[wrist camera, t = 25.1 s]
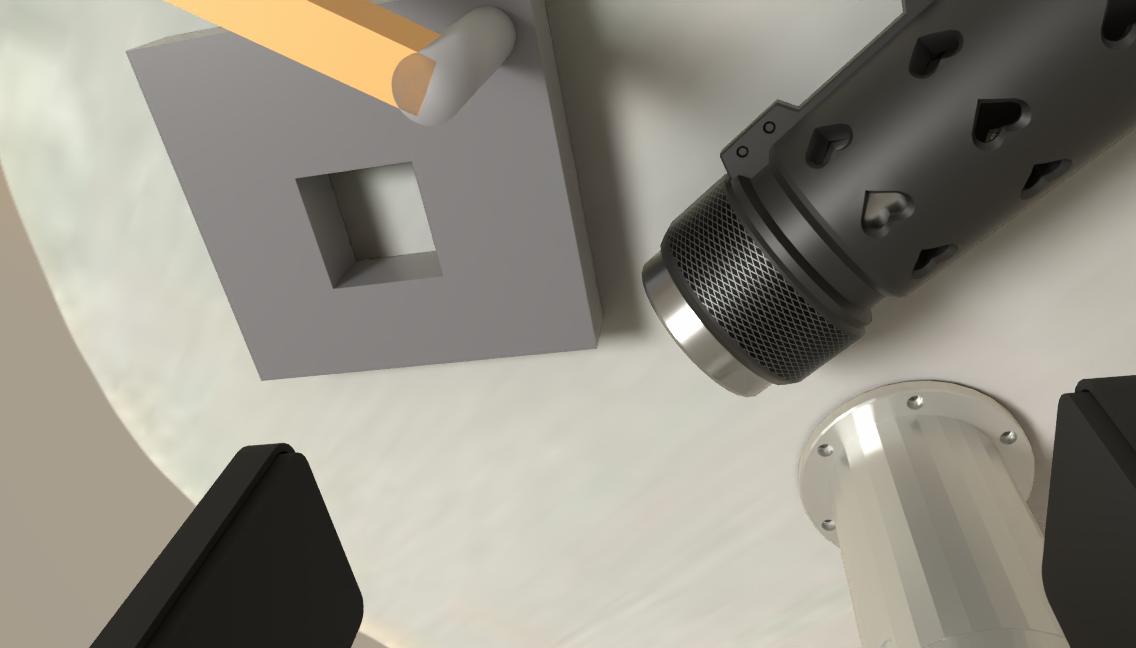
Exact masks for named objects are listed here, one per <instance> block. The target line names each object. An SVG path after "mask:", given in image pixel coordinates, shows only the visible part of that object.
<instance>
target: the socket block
mask: <svg viewBox="0 0 1136 648" xmlns="http://www.w3.org/2000/svg"><path fill="white" fill-rule="evenodd" d="M368 1H370V2H372V3H374V4H376V5H379V6H381V7H383V8H385V9H387V10H389V11H391V12H393V13H396V14H398V15H400V16H402V17H404V18H406V19H408V20H410V21H413V22H415V23H417V24H419V25H421V26H423V27H425V28H427V29H430V30H432V31H434V32H436V33H438V34H439V33H440V32H442V31H443V30H445V29H446V28H448V27H449V26H450V25H452V24H453V23H455V22H456V21H457V20H459V19H460V18H462V17H463V16H465V15H466V14H467V13H469V12H470V11H472V10H473V9H475V8H477V7H480V6H493V7H496V8H499V9H500V10H502V11H503V12H505V13H506V14H507V15H508V16H509V18H510V19H511V21H512V22H513V24H514V27H515V31H516V42H515V46H514V49H513V51H512V52H511V54H510V55H509V56H508V57H507V58H506V60H505V61H504V62H503V63H502V64H501V65H500V66H499V67H498V68H497V70H496V71H495V72H494V73H493V74H492V75H491V76H490V77H489V78H488V79H487V81H486V82H485V83H484V84H483V85H482V86H481V87H480V88H479V89H478V91H477V92H476V93H475V94H474V95H473V96H472V97H471V98H470V99H469V100H468V102H467V103H466V104H465V105H464V106H463V107H462V108H461V109H460V110H459V111H458V113H457V114H456V115H455V116H454V117H453V118H452V119H451V120H449V121H448V122H446V123H444V124H441V125H436V126H426V125H422V124H419V123H416V122H414V121H412V120H411V119H409V118H408V117H407V116H405V115H404V114H403V113H402V111H401V110H400V109H399V108H397V107H395V106H392V105H390V104H388V103H386V102H384V101H382V100H379V99H377V98H375V97H373V96H371V95H369V94H366V93H364V92H362V91H360V90H358V89H356V88H353V87H351V86H349V85H347V84H345V83H342V82H340V81H338V80H336V79H334V78H332V77H329V76H327V75H325V74H323V73H321V72H319V71H316V70H314V69H312V68H310V67H308V66H306V65H303V64H301V63H299V62H297V61H295V60H292V59H290V58H288V57H286V56H284V55H282V54H279V53H277V52H275V51H273V50H271V49H269V48H266V47H264V46H262V45H260V44H258V43H256V42H253V41H251V40H249V39H247V38H245V37H242V36H240V35H238V34H236V33H234V32H232V31H229V30H227V29H225V28H223V27H217V28H212V29H207V30H201V31H196V32H191V33H185V34H180V35H175V36H170V37H165V38H162V39H159V40H157V41H154V42H151V43H148V44H145V45H142V46H139V47H136V48H133V49H130V50H128V51H126V54H127V56H128V59H129V61H130V63H131V66H132V68H133V71H134V73H135V75H136V78H137V80H138V83H139V85H140V88H141V90H142V92H143V95H144V97H145V100H146V102H147V105H148V107H149V109H150V112H151V114H152V117H153V119H154V122H155V124H156V126H157V129H158V131H159V134H160V136H161V138H162V141H163V143H164V146H165V148H166V151H167V153H168V155H169V158H170V160H171V163H172V165H173V168H174V170H175V172H176V175H177V177H178V180H179V182H180V185H181V187H182V189H183V192H184V194H185V197H186V199H187V201H188V204H189V206H190V209H191V211H192V214H193V216H194V218H195V221H196V223H197V226H198V228H199V231H200V233H201V235H202V238H203V240H204V243H205V245H206V247H207V250H208V252H209V255H210V257H211V260H212V262H213V264H214V267H215V269H216V272H217V274H218V277H219V279H220V281H221V284H222V286H223V289H224V291H225V294H226V296H227V298H228V301H229V303H230V306H231V308H232V310H233V313H234V315H235V318H236V320H237V323H238V325H239V327H240V330H241V332H242V335H243V337H244V340H245V342H246V344H247V347H248V349H249V352H250V354H251V357H252V359H253V361H254V364H255V366H256V369H257V371H258V373H259V376H260V378H261V381H264V380H275V379H285V378H296V377H306V376H316V375H327V374H337V373H348V372H358V371H368V370H379V369H389V368H400V367H410V366H420V365H431V364H441V363H452V362H462V361H472V360H483V359H493V358H504V357H514V356H524V355H535V354H545V353H556V352H566V351H576V350H587V349H597V345H598V340H599V335H600V329H601V324H602V319H603V314H602V308H601V303H600V297H599V292H598V287H597V281H596V276H595V270H594V265H593V260H592V254H591V249H590V243H589V238H588V233H587V227H586V222H585V216H584V211H583V206H582V200H581V195H580V189H579V184H578V179H577V173H576V168H575V162H574V157H573V152H572V146H571V141H570V135H569V130H568V125H567V119H566V114H565V108H564V103H563V98H562V92H561V87H560V81H559V76H558V71H557V65H556V60H555V54H554V49H553V44H552V38H551V33H550V27H549V22H548V17H547V11H546V6H545V0H368ZM411 161H412V165H413V168H414V172H415V176H416V179H417V183H418V187H419V190H420V194H421V197H422V201H423V205H424V208H425V212H426V215H427V219H428V223H429V226H430V230H431V233H432V237H433V241H434V244H435V248H436V251H432V252H424V253H416V254H408V255H400V256H392V257H384V258H376V259H368V260H360V261H356V258H355V255H354V252H353V249H352V246H351V243H350V240H349V237H348V234H347V231H346V227H345V224H344V221H343V218H342V215H341V212H340V209H339V206H338V203H337V200H336V197H335V194H334V191H333V188H332V185H331V182H330V178H329V175H328V174H329V173H336V172H343V171H350V170H357V169H363V168H370V167H377V166H384V165H391V164H398V163H404V162H411Z"/></svg>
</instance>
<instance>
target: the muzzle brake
mask: <svg viewBox="0 0 1136 648" xmlns="http://www.w3.org/2000/svg"><path fill="white" fill-rule="evenodd" d="M902 7H903V13H902V14H901V15H900V16H899V17H897V18H896V19H895V20H894V21H893V22H892V23H891V24H890V25H889V26H887V27H886V28H885V29H884V30H883V31H882V32H881V33H880V34H879V35H877V36H876V37H875V38H874V39H873V40H872V41H871V42H870V43H869V44H868V45H866V46H865V47H864V48H863V49H862V50H861V51H860V52H859V53H858V54H856V55H855V56H854V57H853V58H852V59H851V60H850V61H849V62H848V63H846V64H845V65H844V66H843V67H842V68H841V69H840V70H839V71H838V72H836V73H835V74H834V75H833V76H832V77H831V78H830V79H829V80H828V81H826V82H825V83H824V84H823V85H822V86H821V87H820V88H819V89H818V90H816V91H815V92H814V93H813V94H812V95H811V96H810V97H809V98H808V99H806V100H805V101H804V102H803V103H802V104H801V105H800V106H799V107H798V106H795V105H792V104H790V103H787V102H784V101H781V100H778V99H777V100H776V101H775V102H774V103H773V104H772V105H771V106H770V107H768V108H767V109H766V110H765V111H764V112H763V113H762V114H761V115H760V116H759V117H758V118H756V119H755V120H754V121H753V122H752V123H751V124H750V125H749V126H748V127H747V128H746V129H744V130H743V131H742V132H741V133H740V134H739V135H738V136H737V137H736V138H735V139H734V140H732V141H731V142H730V143H729V144H728V145H727V146H726V147H725V148H724V149H723V150H722V151H721V153H720V158H721V160H722V162H723V164H724V166H725V168H726V170H727V174H725V175H724V176H723V177H722V178H721V179H719V180H718V181H717V182H716V183H715V184H714V185H713V186H712V187H711V188H709V189H708V190H707V191H706V192H705V193H704V194H703V195H702V196H700V197H699V198H698V199H697V200H696V201H695V202H694V203H693V204H692V205H690V206H689V207H688V208H687V209H686V210H685V211H684V212H683V213H682V214H680V215H679V216H678V217H677V218H676V219H675V220H674V221H673V222H672V223H671V225H670V226H669V228H668V230H667V232H666V234H665V236H664V238H663V240H662V243H661V245H660V246H661V250H660V251H659V252H658V253H657V254H656V255H654V256H653V257H652V258H651V259H650V260H649V261H648V262H647V263H645V264H644V267H643V270H642V281H643V285H644V288H645V292H646V294H647V296H648V299H649V301H650V303H651V305H652V307H653V309H654V311H655V312H656V314H657V316H658V318H659V319H660V321H661V322H662V324H663V325H664V327H665V328H666V330H667V331H668V333H669V334H670V335H671V337H672V338H673V339H674V341H675V342H676V343H677V344H678V346H679V347H680V348H681V349H682V350H683V351H684V353H685V354H686V355H687V356H688V357H689V358H690V359H691V360H692V361H693V362H694V363H695V364H696V365H697V366H698V367H699V368H700V369H701V370H702V371H703V372H704V373H705V374H707V375H708V376H709V377H710V378H711V379H713V380H714V381H715V382H716V383H718V384H719V385H721V386H722V387H724V388H725V389H727V390H728V391H730V392H732V393H734V394H736V395H739V396H743V397H753V396H756V395H758V394H759V393H760V392H762V391H763V390H764V389H766V388H767V387H768V386H770V385H771V384H776V385H786V384H792V383H797V382H800V381H802V380H803V379H804V378H806V377H807V376H809V375H810V374H811V373H813V372H814V371H815V370H817V369H818V368H820V367H821V366H822V365H824V364H825V363H826V362H828V361H829V360H831V359H832V358H833V357H835V356H836V355H837V354H839V353H840V352H842V351H843V350H844V349H846V348H847V347H848V346H850V345H851V344H853V343H854V342H855V341H857V340H858V339H859V338H860V337H861V336H862V335H863V334H864V333H865V327H866V326H867V325H868V324H870V322H871V321H872V315H871V310H870V308H871V307H872V306H874V305H875V304H876V303H878V302H879V301H880V300H881V299H883V298H884V297H885V296H891V297H903V296H907V295H908V294H909V293H911V292H912V291H914V290H915V289H916V288H918V287H919V286H920V285H922V284H923V283H924V282H926V281H927V280H929V279H930V278H931V277H933V276H934V275H935V274H937V273H938V272H940V271H941V270H942V269H944V268H945V267H946V266H948V265H949V264H950V263H952V262H953V261H955V260H956V259H957V258H959V257H960V256H961V255H963V254H964V253H965V252H967V251H968V250H970V249H971V248H972V247H974V246H975V245H976V244H978V243H979V242H980V241H982V240H983V239H985V238H986V237H987V236H989V235H990V234H991V233H993V232H994V231H996V230H997V229H998V228H1000V227H1001V226H1002V225H1004V224H1005V223H1006V222H1008V221H1009V220H1011V219H1012V218H1013V217H1015V216H1016V215H1017V214H1019V213H1020V212H1021V211H1023V210H1024V209H1026V208H1027V207H1028V206H1030V205H1031V204H1032V203H1034V202H1035V201H1036V200H1038V199H1039V198H1041V197H1042V196H1043V195H1045V194H1046V193H1047V192H1049V191H1050V190H1052V189H1053V188H1054V187H1056V186H1057V185H1058V184H1060V183H1061V182H1062V181H1064V180H1065V179H1067V178H1068V177H1069V176H1071V175H1072V174H1073V173H1075V172H1076V171H1077V170H1079V169H1080V168H1082V167H1083V166H1084V165H1086V164H1087V163H1088V162H1090V161H1091V160H1092V159H1094V158H1095V157H1097V156H1098V155H1099V154H1101V153H1102V152H1103V151H1105V150H1106V149H1108V148H1109V147H1110V146H1112V145H1113V144H1114V143H1116V142H1117V141H1118V140H1120V139H1121V138H1123V137H1124V136H1125V135H1127V134H1128V133H1129V132H1131V131H1132V130H1133V129H1135V128H1136V0H902ZM992 133H997V134H996V136H995V137H994V138H993V139H992V140H991V136H992Z"/></svg>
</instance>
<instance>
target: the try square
mask: <svg viewBox="0 0 1136 648" xmlns="http://www.w3.org/2000/svg"><path fill="white" fill-rule="evenodd" d="M164 1H166V2H169V3H171V4H173V5H175V6H177V7H179V8H182V9H184V10H186V11H188V12H190V13H192V14H195V15H197V16H199V17H201V18H203V19H206V20H208V21H210V22H212V23H214V24H216V25H219V26H221V27H223V28H225V29H227V30H229V31H232V32H234V33H236V34H238V35H240V36H242V37H245V38H247V39H249V40H251V41H253V42H256V43H258V44H260V45H262V46H264V47H266V48H269V49H271V50H273V51H275V52H277V53H279V54H282V55H284V56H286V57H288V58H290V59H292V60H295V61H297V62H299V63H301V64H303V65H306V66H308V67H310V68H312V69H314V70H316V71H319V72H321V73H323V74H325V75H327V76H329V77H332V78H334V79H336V80H338V81H340V82H342V83H345V84H347V85H349V86H351V87H353V88H356V89H358V90H360V91H362V92H364V93H366V94H369V95H371V96H373V97H375V98H377V99H379V100H382V101H384V102H386V103H388V104H390V105H392V106H395V107H397V108H399V109H400V110H401V111H402V113H403V114H404V115H405V116H407V117H408V118H409V119H411V120H412V121H414V122H416V123H419V124H422V125H426V126H436V125H441V124H444V123H446V122H448V121H449V120H451V119H452V118H453V117H454V116H455V115H456V114H457V113H458V111H459V110H460V109H461V108H462V107H463V106H464V105H465V104H466V103H467V102H468V100H469V99H470V98H471V97H472V96H473V95H474V94H475V93H476V92H477V91H478V89H479V88H480V87H481V86H482V85H483V84H484V83H485V82H486V81H487V79H488V78H489V77H490V76H491V75H492V74H493V73H494V72H495V71H496V70H497V68H498V67H499V66H500V65H501V64H502V63H503V62H504V61H505V60H506V58H507V57H508V56H509V55H510V54H511V52H512V51H513V49H514V46H515V42H516V31H515V27H514V24H513V22H512V21H511V19H510V18H509V16H508V15H507V14H506V13H505V12H503V11H502V10H500V9H499V8H496V7H493V6H480V7H477V8H475V9H473V10H472V11H470V12H469V13H467V14H466V15H465V16H463V17H462V18H460V19H459V20H457V21H456V22H455V23H453V24H452V25H450V26H449V27H448V28H446V29H445V30H443V31H442V32H440V33H439V34H438V33H436V32H434V31H432V30H430V29H427V28H425V27H423V26H421V25H419V24H417V23H415V22H413V21H410V20H408V19H406V18H404V17H402V16H400V15H398V14H396V13H393V12H391V11H389V10H387V9H385V8H383V7H381V6H379V5H376V4H374V3H372V2H370V1H368V0H164Z"/></svg>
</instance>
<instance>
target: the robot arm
mask: <svg viewBox="0 0 1136 648" xmlns="http://www.w3.org/2000/svg"><path fill="white" fill-rule="evenodd" d="M1034 479H1035V458H1034V455H1033V452H1032V449H1031V445H1030V442H1029V440H1028V438H1027V437H1026V435H1025V433H1024V431H1023V430H1022V428H1021V426H1020V424H1019V423H1018V422H1017V421H1016V420H1015V418H1014V417H1013V416H1012V415H1011V413H1010V412H1009V411H1008V410H1007V409H1005V408H1004V407H1003V406H1002V405H1000V404H999V403H998V402H996V401H995V400H994V399H992V398H990V397H988V396H986V395H984V394H982V393H980V392H978V391H976V390H974V389H971V388H967V387H964V386H960V385H957V384H953V383H945V382H936V381H911V382H902V383H897V384H892V385H887V386H882V387H879V388H877V389H874V390H871V391H868V392H865V393H863V394H860V395H859V396H857V397H855V398H853V399H851V400H849V401H848V402H846V403H844V404H842V405H841V406H840V407H838V408H837V409H836V410H834V411H833V412H832V413H831V414H829V415H828V416H827V417H826V418H825V419H824V420H823V421H822V422H821V423H820V424H819V426H818V427H817V428H816V429H815V430H814V431H813V433H812V434H811V436H810V438H809V440H808V441H807V443H806V445H805V447H804V449H803V452H802V455H801V459H800V462H799V471H798V483H799V490H800V497H801V500H802V503H803V506H804V509H805V512H806V514H807V516H808V517H809V519H810V520H811V522H812V524H813V525H814V527H815V528H816V529H817V530H818V531H819V532H820V533H821V534H822V535H823V536H824V537H825V538H826V539H827V540H829V541H830V542H832V543H833V544H834V545H836V546H837V547H839V548H840V549H841V554H842V559H843V563H844V568H845V572H846V577H847V581H848V586H849V591H850V595H851V600H852V604H853V609H854V614H855V618H856V623H857V627H858V632H859V636H860V641H861V646H862V648H1136V375H1131V376H1118V377H1106V378H1093V379H1083V380H1081V381H1079V382H1078V384H1077V386H1076V388H1075V393H1066V394H1063V395H1061V397H1060V399H1059V404H1058V411H1057V421H1056V431H1055V441H1054V451H1053V460H1052V470H1051V480H1050V490H1049V500H1048V509H1047V519H1046V529H1045V538H1044V536H1043V534H1042V532H1041V530H1040V528H1039V526H1038V524H1037V522H1036V520H1035V518H1034V516H1033V515H1032V513H1031V511H1030V509H1029V507H1028V505H1027V500H1028V498H1029V496H1030V494H1031V492H1032V488H1033V483H1034ZM363 607H364V606H363V598H362V595H361V592H360V589H359V587H358V585H357V582H356V580H355V577H354V575H353V572H352V570H351V567H350V565H349V562H348V560H347V557H346V555H345V552H344V550H343V547H342V545H341V542H340V540H339V537H338V535H337V533H336V530H335V528H334V525H333V523H332V520H331V518H330V515H329V513H328V510H327V508H326V505H325V503H324V500H323V498H322V495H321V493H320V490H319V488H318V485H317V483H316V481H315V478H314V476H313V473H312V471H311V468H310V466H309V463H308V461H307V459H306V457H305V456H304V455H303V454H301V453H295V451H294V449H293V448H292V447H291V446H290V445H289V444H285V443H278V444H265V445H253V446H246V447H243V448H242V449H241V450H239V451H238V452H237V454H236V455H235V456H234V458H233V459H232V460H231V462H230V463H229V464H228V465H227V467H226V468H225V469H224V471H223V472H222V473H221V475H220V476H219V477H218V479H217V480H216V481H215V483H214V484H213V485H212V487H211V488H210V489H209V491H208V492H207V493H206V494H205V496H204V497H203V498H202V500H201V501H200V502H199V504H198V505H197V506H196V508H195V509H194V510H193V512H192V513H191V514H190V516H189V517H188V518H187V520H186V521H185V522H184V523H183V525H182V526H181V527H180V529H179V530H178V531H177V533H176V534H175V535H174V537H173V538H172V539H171V541H170V542H169V543H168V545H167V546H166V547H165V549H164V550H163V551H162V553H161V554H160V555H159V557H158V558H157V559H156V560H155V562H154V563H153V564H152V566H151V567H150V568H149V570H148V571H147V572H146V574H145V575H144V576H143V578H142V579H141V580H140V582H139V583H138V584H137V585H136V587H135V588H134V589H133V591H132V592H131V593H130V595H129V596H128V598H127V599H126V600H125V601H124V603H123V604H122V605H121V607H120V608H119V609H118V611H117V612H116V613H115V615H114V616H113V617H112V618H111V620H110V621H109V622H108V624H107V625H106V626H105V628H104V629H103V630H102V632H101V633H100V634H99V636H98V637H97V639H96V640H95V641H94V642H93V643H92V645H91V646H90V647H89V648H351V646H352V644H353V641H354V639H355V637H356V634H357V632H358V630H359V627H360V625H361V622H362V618H363Z"/></svg>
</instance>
